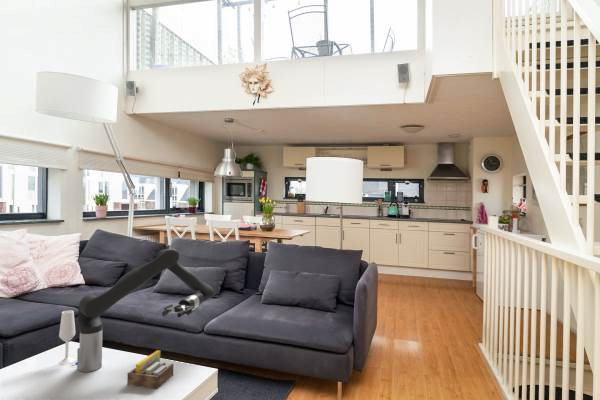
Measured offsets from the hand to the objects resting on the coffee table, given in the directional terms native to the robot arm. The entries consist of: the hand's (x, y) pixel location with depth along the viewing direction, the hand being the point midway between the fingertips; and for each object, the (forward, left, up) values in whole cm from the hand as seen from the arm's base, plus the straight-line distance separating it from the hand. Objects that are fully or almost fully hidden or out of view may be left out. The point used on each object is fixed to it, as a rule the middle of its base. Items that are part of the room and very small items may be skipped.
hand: (170, 314), depth 179 cm
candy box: (-1, -16, -23) cm, 28 cm away
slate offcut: (+7, -20, -22) cm, 31 cm away
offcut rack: (+3, -20, -22) cm, 30 cm away
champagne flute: (-47, -13, -23) cm, 54 cm away
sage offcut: (+3, -19, -23) cm, 30 cm away
